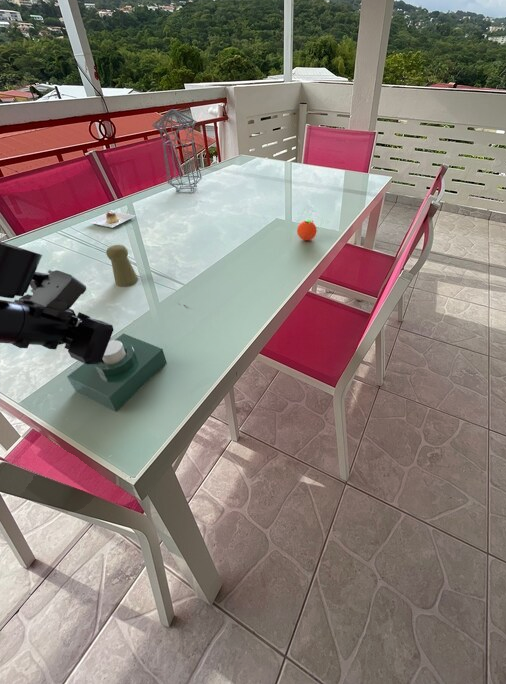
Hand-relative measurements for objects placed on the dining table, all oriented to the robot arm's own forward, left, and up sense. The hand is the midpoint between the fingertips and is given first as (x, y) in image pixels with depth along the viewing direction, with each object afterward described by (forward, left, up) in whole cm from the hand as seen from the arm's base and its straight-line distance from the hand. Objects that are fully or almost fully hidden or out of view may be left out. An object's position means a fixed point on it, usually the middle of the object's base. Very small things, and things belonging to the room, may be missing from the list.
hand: (104, 332), depth 60 cm
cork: (+10, +36, -12) cm, 39 cm away
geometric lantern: (+55, +102, -12) cm, 117 cm away
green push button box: (0, 0, -12) cm, 12 cm away
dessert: (+17, +83, -12) cm, 86 cm away
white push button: (0, 0, -6) cm, 7 cm away
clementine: (+69, +26, -12) cm, 75 cm away
